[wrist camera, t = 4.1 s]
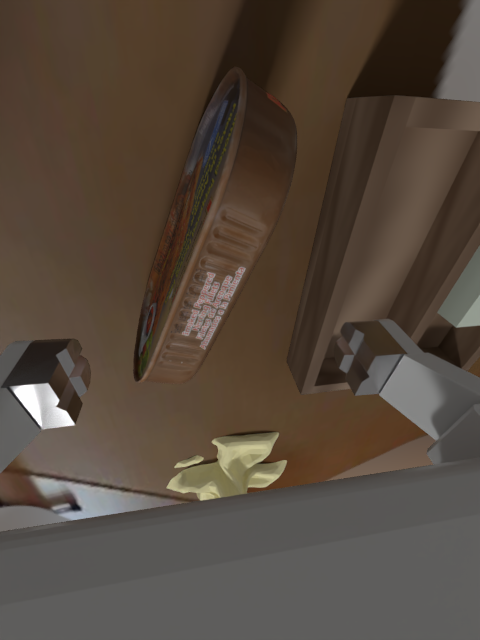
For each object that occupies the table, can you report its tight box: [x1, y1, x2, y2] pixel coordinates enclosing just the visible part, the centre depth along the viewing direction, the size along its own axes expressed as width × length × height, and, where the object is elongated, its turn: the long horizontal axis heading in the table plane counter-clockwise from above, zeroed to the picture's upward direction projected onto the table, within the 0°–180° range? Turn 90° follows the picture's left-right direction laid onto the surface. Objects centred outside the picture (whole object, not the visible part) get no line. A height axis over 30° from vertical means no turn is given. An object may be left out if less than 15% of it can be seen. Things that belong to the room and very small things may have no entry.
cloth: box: [167, 432, 287, 501], centre depth 37 cm, size 22×19×6 cm
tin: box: [133, 67, 297, 384], centre depth 14 cm, size 15×3×8 cm, turn 154°
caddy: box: [287, 95, 480, 395], centre depth 20 cm, size 17×20×4 cm
